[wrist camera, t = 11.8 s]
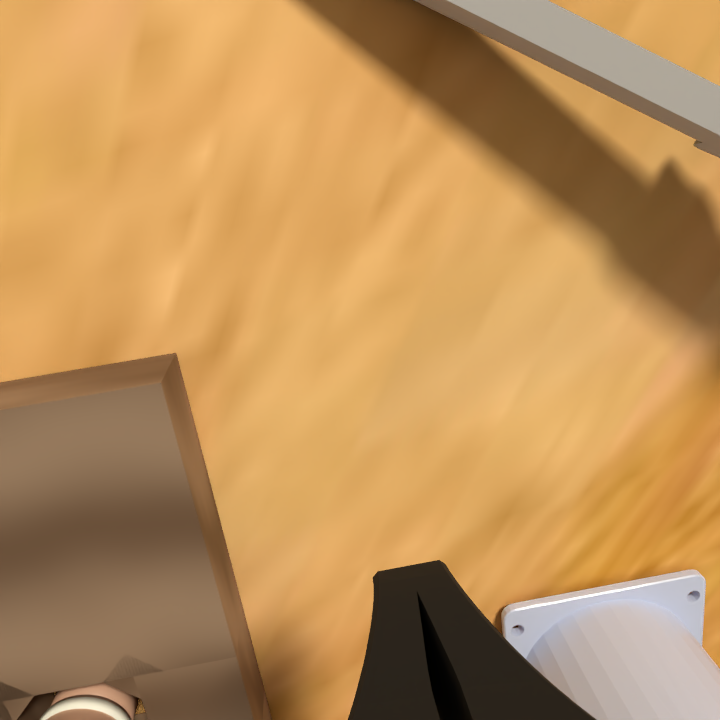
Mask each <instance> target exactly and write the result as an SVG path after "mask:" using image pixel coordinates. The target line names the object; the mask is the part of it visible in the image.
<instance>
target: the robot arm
mask: <svg viewBox="0 0 720 720" xmlns="http://www.w3.org/2000/svg"><path fill="white" fill-rule="evenodd" d="M373 583H374V602H373V613H372V621H371V628H370V633H369V639H368V644H367V650H366V655H365V660H364V664H363V668H362V672H361V676H360V679H359V683H358V687H357V691H356V695H355V698H354V702H353V705H352V708H351V712H350V715H349V718H348V720H720V669H719V667H718V666H717V665H716V664H715V662H714V661H713V660H712V659H711V657H710V656H709V655H708V654H707V652H706V651H705V650H704V649H703V647H702V639H703V622H704V605H705V588H706V581H705V578H704V577H703V576H702V575H701V574H700V573H699V572H698V571H697V570H694V569H693V570H685V571H679V572H674V573H669V574H664V575H658V576H653V577H648V578H643V579H638V580H632V581H627V582H622V583H617V584H611V585H606V586H601V587H596V588H591V589H585V590H580V591H575V592H570V593H565V594H559V595H554V596H549V597H544V598H538V599H533V600H528V601H523V602H518V603H513V604H510V605H508V606H506V607H505V608H504V609H503V611H502V614H501V621H502V633H503V636H502V635H501V633H500V632H499V631H498V630H497V629H496V628H495V627H494V626H493V625H492V624H491V622H490V621H489V620H488V619H487V618H486V617H485V616H484V615H483V614H482V612H481V611H480V610H479V609H478V608H477V606H476V605H475V604H474V603H473V602H472V600H471V599H470V598H469V597H468V595H467V594H466V593H465V592H464V590H463V589H462V588H461V586H460V585H459V584H458V582H457V581H456V580H455V578H454V577H453V575H452V574H451V572H450V571H449V569H448V568H447V566H446V565H445V564H444V563H443V562H441V561H440V560H437V561H432V562H426V563H421V564H416V565H410V566H405V567H400V568H394V569H389V570H384V571H378V572H377V573H376V574H375V576H374V577H373ZM692 591H693V592H692ZM690 592H692V593H691V594H689V593H690ZM516 625H519V626H518V627H517V628H513V627H514V626H516Z"/></svg>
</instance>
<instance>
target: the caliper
mask: <svg viewBox="0 0 720 720" xmlns="http://www.w3.org/2000/svg"><path fill="white" fill-rule="evenodd" d="M414 1H416V2H418V3H420V4H422V5H424V6H426V7H428V8H430V9H432V10H434V11H436V12H438V13H441V14H443V15H445V16H447V17H449V18H451V19H453V20H455V21H457V22H459V23H461V24H463V25H465V26H467V27H469V28H471V29H473V30H475V31H477V32H479V33H481V34H483V35H485V36H487V37H489V38H491V39H494V40H496V41H498V42H500V43H502V44H504V45H506V46H508V47H510V48H512V49H514V50H516V51H518V52H520V53H522V54H524V55H526V56H528V57H530V58H532V59H534V60H536V61H538V62H540V63H542V64H544V65H546V66H548V67H550V68H552V69H554V70H556V71H558V72H561V73H563V74H565V75H567V76H569V77H571V78H573V79H575V80H577V81H579V82H581V83H583V84H585V85H587V86H589V87H591V88H593V89H595V90H597V91H599V92H601V93H603V94H605V95H607V96H609V97H611V98H613V99H615V100H617V101H619V102H621V103H623V104H625V105H627V106H629V107H631V108H633V109H635V110H637V111H639V112H642V113H644V114H646V115H648V116H650V117H652V118H654V119H656V120H658V121H660V122H662V123H664V124H666V125H668V126H670V127H672V128H674V129H676V130H678V131H680V132H682V133H684V134H686V135H688V136H690V137H692V138H694V139H696V141H695V143H694V146H695V147H697V148H698V149H701V150H703V151H705V152H707V153H710V154H712V155H715V156H717V157H719V158H720V86H718V85H716V84H714V83H712V82H710V81H708V80H706V79H704V78H702V77H700V76H698V75H696V74H694V73H692V72H690V71H688V70H686V69H684V68H682V67H680V66H678V65H676V64H674V63H672V62H670V61H668V60H666V59H664V58H662V57H660V56H658V55H656V54H654V53H652V52H650V51H648V50H646V49H644V48H642V47H640V46H638V45H636V44H634V43H632V42H630V41H628V40H626V39H624V38H622V37H620V36H618V35H616V34H614V33H612V32H610V31H608V30H606V29H604V28H602V27H600V26H598V25H596V24H594V23H592V22H590V21H588V20H586V19H584V18H582V17H580V16H578V15H576V14H574V13H572V12H570V11H568V10H566V9H564V8H562V7H560V6H558V5H556V4H554V3H552V2H550V1H548V0H414Z"/></svg>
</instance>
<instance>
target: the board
mask: <svg viewBox="0 0 720 720" xmlns="http://www.w3.org/2000/svg"><path fill="white" fill-rule="evenodd" d="M98 683H105V684H108V685H110V686H112V687H114V688H117V689H119V690H121V691H124V692H126V693H128V694H131V695H133V696H135V697H138V698H140V699H141V700H142V703H143V706H144V708H145V711H146V713H141V714H136V715H135V716H134V720H272V717H271V714H270V710H269V706H268V702H267V698H266V695H265V691H264V687H263V683H262V679H261V675H260V672H259V668H258V664H257V660H256V656H255V653H254V649H253V645H252V641H251V637H250V633H249V630H248V626H247V622H246V618H245V614H244V611H243V607H242V603H241V599H240V595H239V591H238V588H237V584H236V580H235V576H234V572H233V568H232V565H231V561H230V557H229V553H228V549H227V546H226V542H225V538H224V534H223V530H222V526H221V523H220V519H219V515H218V511H217V507H216V504H215V500H214V496H213V492H212V488H211V484H210V481H209V477H208V473H207V469H206V465H205V462H204V458H203V454H202V450H201V446H200V442H199V439H198V435H197V431H196V427H195V423H194V420H193V416H192V412H191V408H190V404H189V400H188V397H187V393H186V389H185V385H184V381H183V378H182V374H181V370H180V366H179V362H178V358H177V355H176V353H173V354H167V355H161V356H155V357H150V358H144V359H138V360H132V361H126V362H120V363H114V364H108V365H102V366H96V367H90V368H84V369H78V370H73V371H67V372H61V373H55V374H49V375H43V376H37V377H31V378H25V379H19V380H13V381H7V382H1V383H0V720H40V718H41V716H42V715H43V714H44V712H46V711H47V710H48V709H49V708H50V707H51V704H52V702H53V700H54V697H55V695H54V693H53V692H56V691H61V690H66V689H72V688H77V687H82V686H87V685H93V684H98Z"/></svg>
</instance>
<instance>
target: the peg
mask: <svg viewBox="0 0 720 720" xmlns="http://www.w3.org/2000/svg"><path fill="white" fill-rule="evenodd" d="M137 705H138V697H135V696H133V695H131V694H128V693H126V692H124V691H121V690H119V689H117V688H114V687H112V686H110V685H108V684H105V683H98V684H93V685H87V686H82V687H77V688H72V689H66V690H61V691H57V692H56V695H55V697H54V700H53V702H52V704H51V707H50V708H49V709H48V710H47V711H46V712H44V714H43V715H42V716H41V718H40V720H134V716H135V713H136V709H137Z"/></svg>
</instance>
